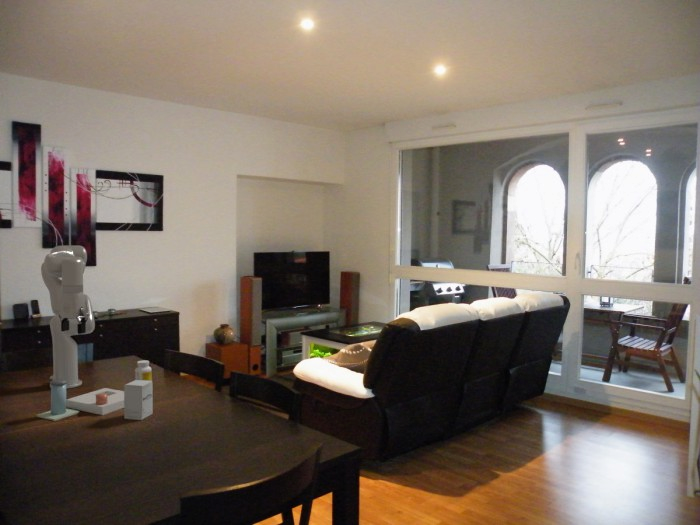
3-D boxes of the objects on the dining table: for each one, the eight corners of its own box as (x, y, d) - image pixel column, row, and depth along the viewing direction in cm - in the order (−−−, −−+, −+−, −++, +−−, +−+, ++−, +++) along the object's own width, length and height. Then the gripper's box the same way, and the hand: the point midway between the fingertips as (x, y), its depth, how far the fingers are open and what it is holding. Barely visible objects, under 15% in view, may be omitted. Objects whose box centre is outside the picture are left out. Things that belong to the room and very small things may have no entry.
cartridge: (46, 413, 200) (46, 381, 200) (60, 409, 205) (61, 378, 205) (56, 416, 198) (56, 384, 197) (70, 412, 203) (70, 380, 202)
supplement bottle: (154, 389, 235) (154, 359, 234) (147, 393, 228) (147, 363, 228) (139, 388, 235) (139, 359, 235) (132, 393, 229) (131, 363, 228)
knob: (93, 410, 205) (93, 395, 205) (102, 407, 208) (102, 392, 208) (101, 411, 203) (100, 396, 203) (110, 408, 207) (109, 394, 206)
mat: (36, 416, 199) (36, 415, 199) (61, 408, 208) (61, 407, 208) (54, 420, 195) (54, 419, 195) (79, 412, 204) (79, 411, 204)
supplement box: (142, 420, 196) (141, 385, 195) (123, 419, 197) (123, 384, 197) (153, 413, 203) (153, 380, 202) (135, 412, 205) (135, 379, 204)
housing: (66, 407, 210) (66, 399, 210) (105, 395, 226) (105, 387, 226) (102, 415, 201) (102, 407, 201) (140, 401, 218) (140, 394, 217)
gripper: (49, 288, 217) (50, 331, 218) (78, 292, 209) (79, 336, 210) (66, 287, 223) (67, 328, 225) (95, 290, 216) (96, 332, 217)
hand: (73, 332), depth 218 cm, fingers open, 9 cm apart
